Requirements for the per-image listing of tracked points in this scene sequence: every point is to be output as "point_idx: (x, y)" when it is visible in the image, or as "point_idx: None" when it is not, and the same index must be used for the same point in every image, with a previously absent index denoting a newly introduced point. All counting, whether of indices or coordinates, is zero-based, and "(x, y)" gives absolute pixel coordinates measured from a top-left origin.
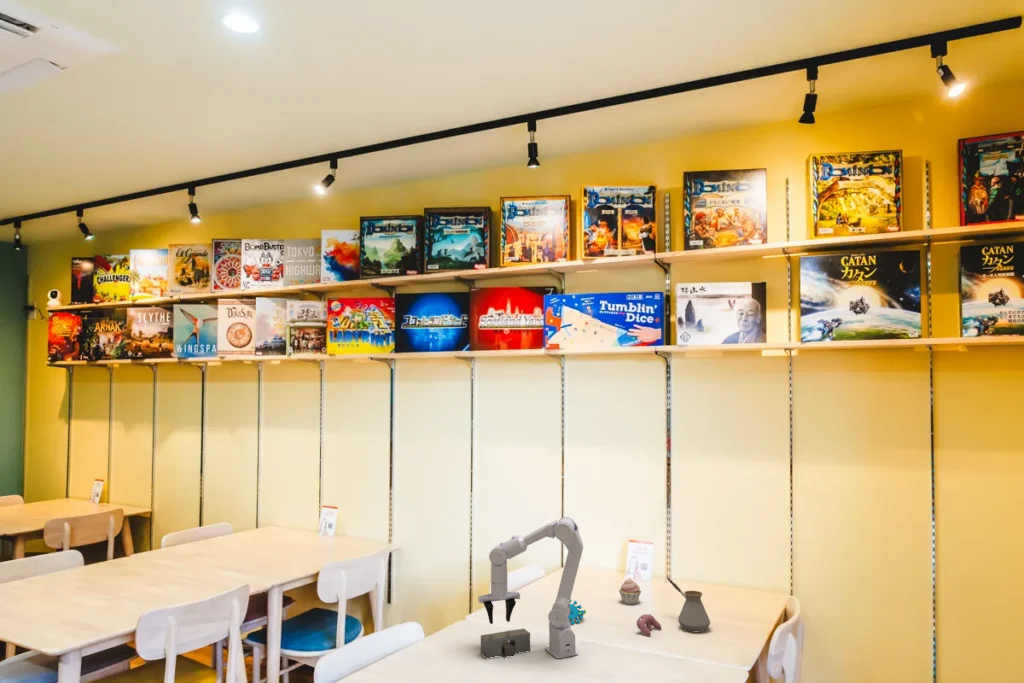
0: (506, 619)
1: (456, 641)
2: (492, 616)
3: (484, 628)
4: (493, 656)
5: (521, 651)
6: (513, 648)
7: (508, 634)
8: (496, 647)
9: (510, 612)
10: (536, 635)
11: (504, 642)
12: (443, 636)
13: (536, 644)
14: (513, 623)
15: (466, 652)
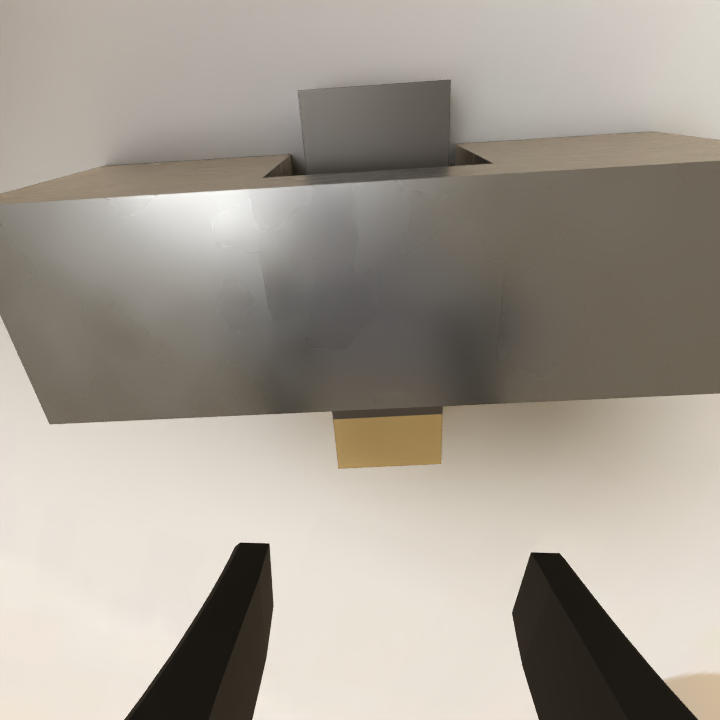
0: (269, 608)
1: (637, 572)
2: (603, 672)
3: (359, 677)
4: (566, 137)
5: (207, 162)
6: (322, 91)
7: (342, 280)
8: (561, 152)
9: (167, 706)
10: (3, 495)
11: None
12: (661, 652)
13: None
14: None
15: None
